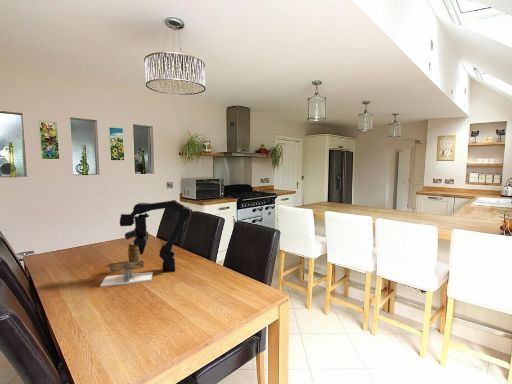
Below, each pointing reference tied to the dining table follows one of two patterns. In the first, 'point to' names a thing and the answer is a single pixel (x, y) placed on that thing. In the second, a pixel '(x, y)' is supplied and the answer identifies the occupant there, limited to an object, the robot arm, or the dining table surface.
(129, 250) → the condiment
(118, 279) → the balance stand
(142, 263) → the walnut bar
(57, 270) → the dining table surface
